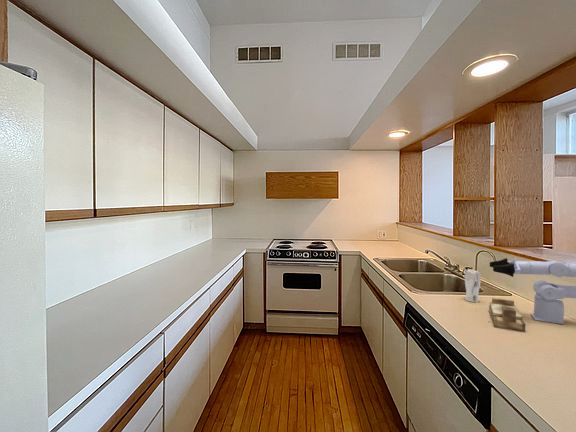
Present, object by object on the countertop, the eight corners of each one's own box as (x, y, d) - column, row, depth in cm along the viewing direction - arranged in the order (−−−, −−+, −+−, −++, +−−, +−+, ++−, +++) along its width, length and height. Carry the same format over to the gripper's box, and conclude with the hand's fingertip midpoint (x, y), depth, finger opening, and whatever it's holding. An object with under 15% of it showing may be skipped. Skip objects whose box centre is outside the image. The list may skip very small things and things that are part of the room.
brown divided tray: (515, 314, 136) (516, 308, 136) (525, 331, 118) (525, 324, 118) (489, 311, 141) (489, 304, 141) (494, 326, 123) (494, 319, 123)
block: (513, 319, 124) (514, 308, 123) (515, 322, 120) (516, 311, 120) (501, 317, 125) (502, 306, 125) (503, 320, 122) (503, 309, 122)
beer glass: (464, 301, 154) (465, 272, 154) (463, 297, 161) (464, 269, 160) (480, 303, 151) (481, 273, 150) (479, 299, 157) (480, 270, 157)
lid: (515, 307, 136) (515, 300, 136) (522, 319, 123) (522, 311, 122) (489, 304, 141) (489, 297, 140) (493, 315, 127) (493, 307, 127)
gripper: (523, 254, 139) (488, 254, 145) (533, 262, 126) (494, 261, 131) (523, 270, 140) (488, 268, 145) (534, 279, 126) (495, 277, 132)
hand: (491, 266), depth 138 cm, fingers open, 7 cm apart
